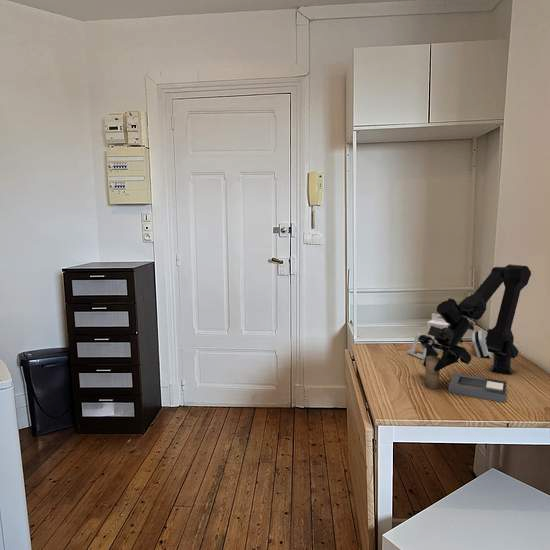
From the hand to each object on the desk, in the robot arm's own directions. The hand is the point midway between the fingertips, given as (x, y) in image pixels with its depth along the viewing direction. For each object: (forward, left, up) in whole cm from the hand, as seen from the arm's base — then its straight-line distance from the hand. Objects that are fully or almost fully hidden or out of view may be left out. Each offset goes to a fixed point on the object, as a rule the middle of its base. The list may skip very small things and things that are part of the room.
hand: (429, 368), depth 138 cm
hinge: (-49, +12, -7) cm, 51 cm away
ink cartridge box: (-46, -5, -7) cm, 46 cm away
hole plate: (-5, +14, -7) cm, 16 cm away
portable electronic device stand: (-33, -9, -7) cm, 34 cm away
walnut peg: (-1, +1, -7) cm, 7 cm away
